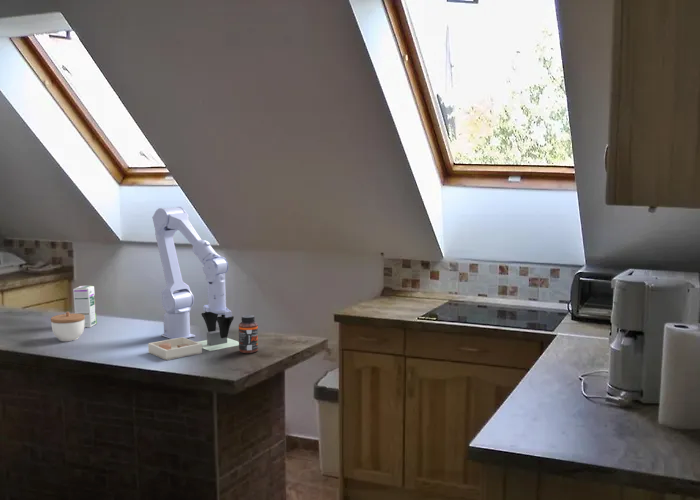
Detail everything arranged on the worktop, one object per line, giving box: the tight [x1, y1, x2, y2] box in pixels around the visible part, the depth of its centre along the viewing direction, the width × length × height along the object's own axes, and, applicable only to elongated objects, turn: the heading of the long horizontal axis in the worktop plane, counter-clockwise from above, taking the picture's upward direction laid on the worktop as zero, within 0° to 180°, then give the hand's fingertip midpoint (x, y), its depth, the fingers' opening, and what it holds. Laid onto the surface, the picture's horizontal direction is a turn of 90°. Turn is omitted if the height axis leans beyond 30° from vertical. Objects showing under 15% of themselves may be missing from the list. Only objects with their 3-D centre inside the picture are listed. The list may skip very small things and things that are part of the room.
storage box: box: [147, 337, 203, 361], centre depth 224 cm, size 12×12×3 cm
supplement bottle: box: [238, 314, 259, 354], centre depth 225 cm, size 6×6×11 cm
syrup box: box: [72, 285, 98, 329], centre depth 262 cm, size 6×6×14 cm
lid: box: [197, 329, 239, 352], centre depth 235 cm, size 13×13×5 cm
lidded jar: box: [50, 311, 85, 342], centre depth 243 cm, size 11×11×9 cm
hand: (218, 335), depth 235 cm, fingers open, 7 cm apart
